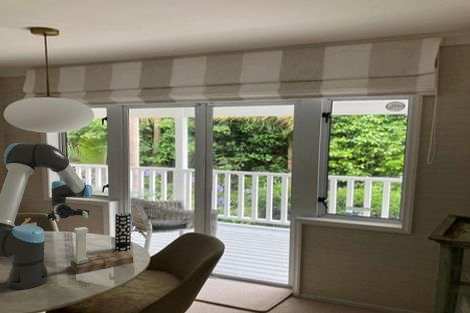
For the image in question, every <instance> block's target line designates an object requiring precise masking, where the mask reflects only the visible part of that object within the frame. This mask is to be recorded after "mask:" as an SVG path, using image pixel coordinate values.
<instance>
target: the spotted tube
mask: <svg viewBox="0 0 470 313" xmlns="http://www.w3.org/2000/svg"><path fill="white" fill-rule="evenodd" d="M114 220H115V221H114V223H115V224H114V228H115V229H114V231H115V232H114V234H115V235H114V251H115V252H121V251H125V252H126V253H127V252H129V251H131V250H130V249H132V246H131V245H132V244H131V243H132V242H131V241H132V236H131V235H132V223H131V222H132V213H129V212H120V213H115V217H114Z"/></svg>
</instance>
